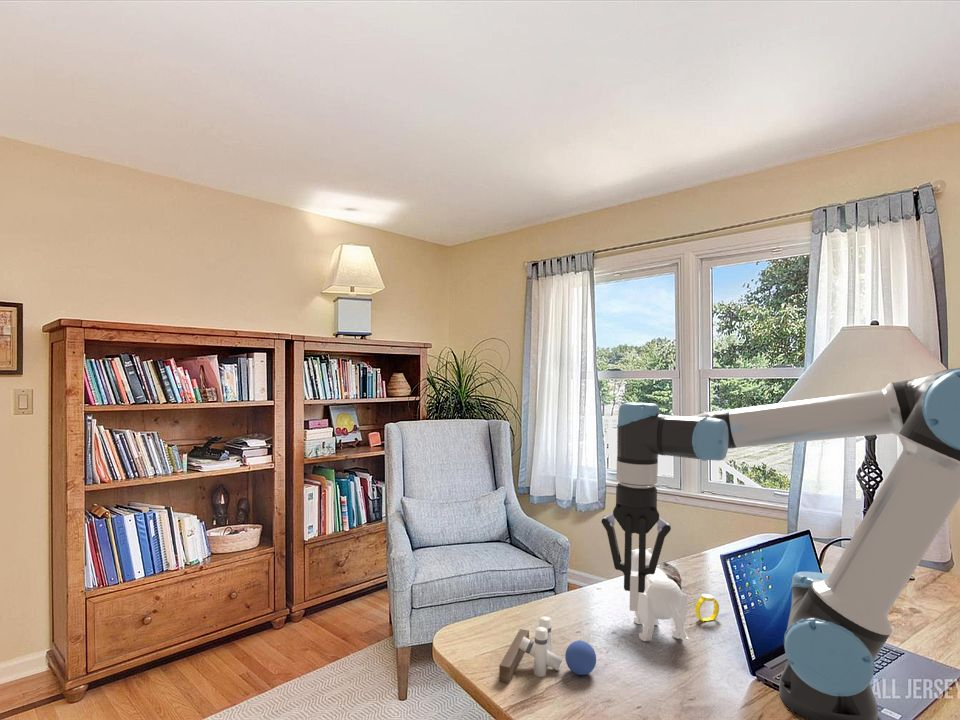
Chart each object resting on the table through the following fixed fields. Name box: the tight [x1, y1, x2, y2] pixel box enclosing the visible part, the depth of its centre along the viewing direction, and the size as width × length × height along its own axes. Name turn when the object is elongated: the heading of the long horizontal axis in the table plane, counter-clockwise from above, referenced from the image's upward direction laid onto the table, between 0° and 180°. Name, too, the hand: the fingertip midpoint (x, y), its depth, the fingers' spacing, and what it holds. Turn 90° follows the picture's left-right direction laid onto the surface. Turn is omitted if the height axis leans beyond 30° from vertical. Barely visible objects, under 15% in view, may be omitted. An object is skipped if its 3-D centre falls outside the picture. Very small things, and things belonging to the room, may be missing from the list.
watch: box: [694, 593, 720, 623], centre depth 136 cm, size 6×3×6 cm, turn 108°
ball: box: [564, 640, 597, 676], centre depth 111 cm, size 6×6×6 cm
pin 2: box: [533, 626, 548, 678], centre depth 111 cm, size 2×2×8 cm
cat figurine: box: [622, 547, 690, 642], centre depth 129 cm, size 25×10×17 cm, turn 15°
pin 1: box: [538, 616, 552, 652], centre depth 115 cm, size 2×2×8 cm
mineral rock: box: [657, 561, 682, 588], centre depth 158 cm, size 15×8×4 cm, turn 141°
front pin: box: [519, 637, 563, 672], centre depth 113 cm, size 2×2×8 cm
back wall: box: [498, 628, 530, 684], centre depth 115 cm, size 2×16×3 cm, turn 162°
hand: (633, 608), depth 108 cm, fingers closed
